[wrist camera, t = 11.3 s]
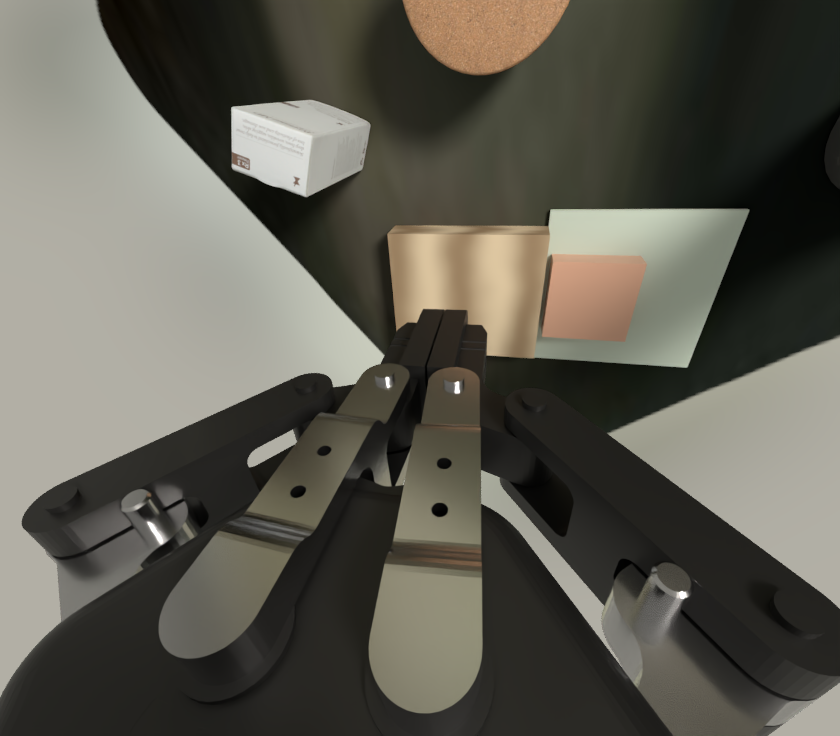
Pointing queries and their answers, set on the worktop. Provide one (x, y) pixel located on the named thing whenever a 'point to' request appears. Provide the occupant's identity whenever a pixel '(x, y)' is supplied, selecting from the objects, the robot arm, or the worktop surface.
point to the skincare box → (298, 144)
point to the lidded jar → (483, 30)
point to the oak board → (473, 278)
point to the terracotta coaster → (591, 296)
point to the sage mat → (649, 277)
